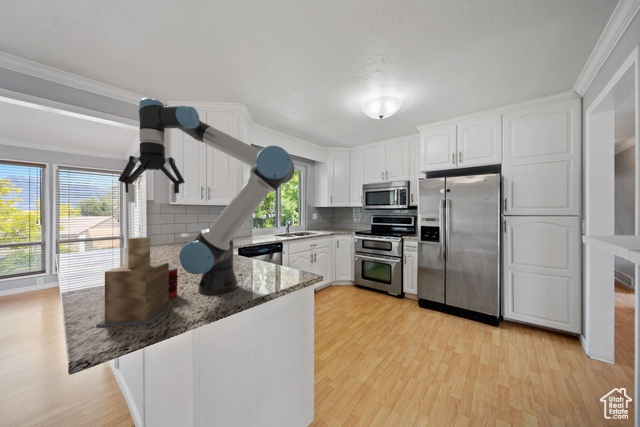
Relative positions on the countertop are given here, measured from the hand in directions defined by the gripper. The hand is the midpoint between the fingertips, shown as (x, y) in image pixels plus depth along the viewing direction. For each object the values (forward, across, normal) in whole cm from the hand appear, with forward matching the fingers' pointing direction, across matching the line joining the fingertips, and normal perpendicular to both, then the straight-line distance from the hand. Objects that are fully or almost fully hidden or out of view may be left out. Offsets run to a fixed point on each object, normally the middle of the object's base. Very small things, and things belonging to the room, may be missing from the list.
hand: (153, 202), depth 87 cm
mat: (+36, -1, +13) cm, 38 cm away
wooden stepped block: (+35, -1, +13) cm, 38 cm away
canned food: (+36, -2, -3) cm, 36 cm away
